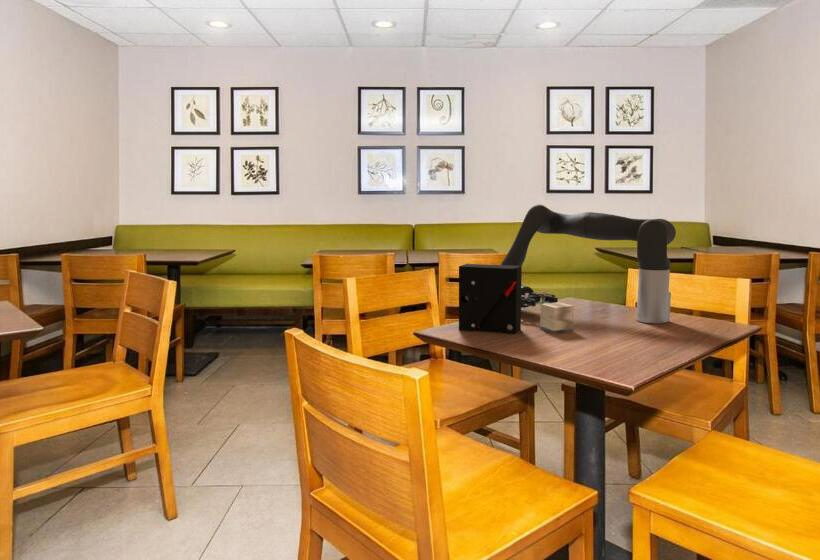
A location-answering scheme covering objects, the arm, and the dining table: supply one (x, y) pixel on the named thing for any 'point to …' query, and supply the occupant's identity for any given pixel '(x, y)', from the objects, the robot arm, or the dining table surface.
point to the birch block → (557, 317)
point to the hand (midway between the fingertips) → (545, 302)
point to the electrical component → (490, 298)
